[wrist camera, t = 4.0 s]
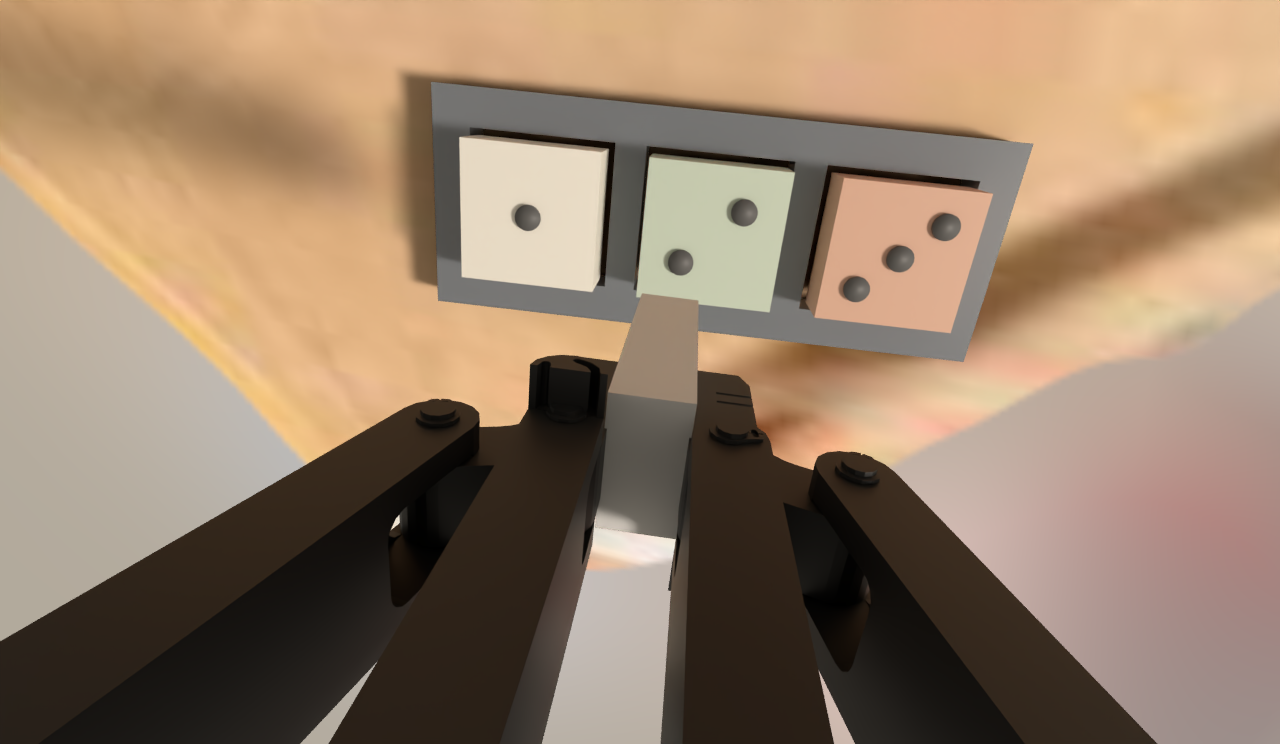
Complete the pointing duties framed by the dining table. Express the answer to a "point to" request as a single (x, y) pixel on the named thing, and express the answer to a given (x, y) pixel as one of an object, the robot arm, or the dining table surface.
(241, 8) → the dining table surface
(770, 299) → the tile two
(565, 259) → the tile one
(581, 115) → the tile tray
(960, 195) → the tile three
